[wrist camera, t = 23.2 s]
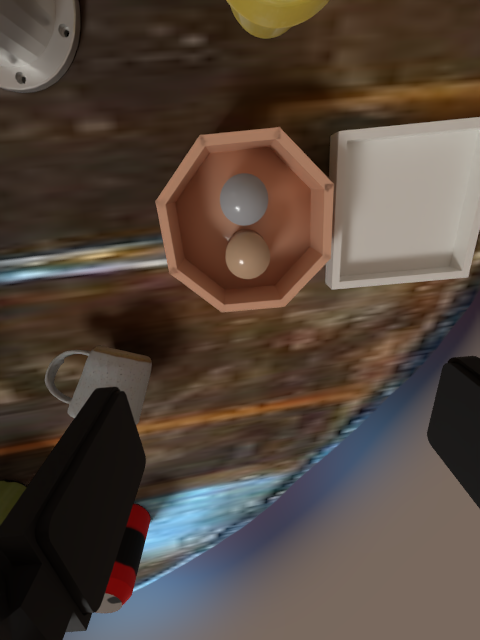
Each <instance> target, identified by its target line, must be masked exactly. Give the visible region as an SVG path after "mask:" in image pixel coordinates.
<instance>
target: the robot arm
mask: <svg viewBox="0 0 480 640" xmlns="http://www.w3.org/2000/svg"><path fill="white" fill-rule="evenodd" d="M68 32H69V36H68V37H67V33H68ZM79 35H80V6H79V0H0V88H2V89H5V90H8V91H14V92H19V93H26V92H36V91H39V90H43V89H46V88H48V87H49V86H51V85H53V84H54V83H56V82H57V81H58V80H59V79H60V78H61V77H62V76H63V75H64V74H65V73H66V71H67V70H68V68H69V66H70V64H71V63H72V61H73V59H74V56H75V53H76V50H77V47H78V42H79ZM25 79H26V82H25ZM427 436H428V440H429V443H430V444H431V446H432V447H433V449H434V450H435V451H436V452H437V454H438V455H439V456H440V458H441V459H442V460H443V461H444V463H445V464H446V465H447V467H448V468H449V469H450V471H451V472H452V473H453V475H454V476H455V477H456V478H457V479H458V481H459V482H460V484H461V485H462V486H463V488H464V489H465V490H466V491H467V493H468V494H469V495H470V497H471V498H472V499H473V501H474V502H475V503H476V504H477V506H478V507H479V508H480V358H478V357H476V356H468V357H455V358H451V359H450V360H449V361H448V363H446V364H445V365H444V366H443V368H442V373H441V376H440V381H439V385H438V389H437V393H436V397H435V402H434V406H433V410H432V414H431V418H430V423H429V427H428V432H427ZM145 463H146V458H145V453H144V450H143V447H142V443H141V440H140V437H139V434H138V431H137V427H136V424H135V421H134V418H133V415H132V411H131V408H130V405H129V402H128V399H127V395H126V393H125V392H124V391H120V389H119V388H118V387H105V388H97V389H95V390H94V391H93V392H92V394H91V395H90V397H89V398H88V400H87V401H86V403H85V404H84V405H83V407H82V408H81V410H80V411H79V413H78V414H77V416H76V417H75V418H74V420H73V421H72V423H71V424H70V426H69V427H68V429H67V430H66V431H65V433H64V434H63V436H62V437H61V439H60V440H59V442H58V443H57V444H56V446H55V447H54V449H53V450H52V452H51V453H50V455H49V456H48V457H47V459H46V460H45V462H44V463H43V465H42V466H41V468H40V469H39V470H38V472H37V473H36V475H35V476H34V478H33V479H32V480H31V482H30V483H29V485H28V486H27V488H26V489H25V491H24V492H23V493H22V495H21V496H20V498H19V499H18V501H17V502H16V504H15V505H14V506H13V508H12V509H11V511H10V512H9V514H8V515H7V517H6V518H5V519H4V521H3V522H2V524H1V525H0V640H63V637H64V634H65V632H73V631H86V630H87V627H88V624H89V621H90V618H91V615H92V613H94V612H97V610H98V609H99V608H100V606H101V603H102V601H103V598H104V595H105V592H106V588H107V585H108V582H109V579H110V576H111V573H112V570H113V566H114V563H115V560H116V557H117V554H118V551H119V548H120V544H121V541H122V538H123V535H124V532H125V529H126V526H127V522H128V519H129V516H130V513H131V510H132V507H133V504H134V500H135V497H136V494H137V491H138V488H139V485H140V481H141V478H142V475H143V472H144V469H145Z"/></svg>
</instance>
